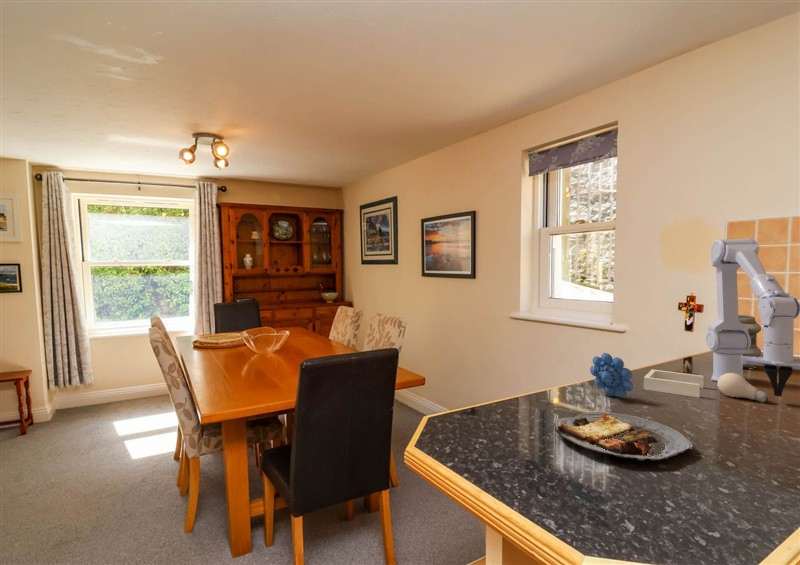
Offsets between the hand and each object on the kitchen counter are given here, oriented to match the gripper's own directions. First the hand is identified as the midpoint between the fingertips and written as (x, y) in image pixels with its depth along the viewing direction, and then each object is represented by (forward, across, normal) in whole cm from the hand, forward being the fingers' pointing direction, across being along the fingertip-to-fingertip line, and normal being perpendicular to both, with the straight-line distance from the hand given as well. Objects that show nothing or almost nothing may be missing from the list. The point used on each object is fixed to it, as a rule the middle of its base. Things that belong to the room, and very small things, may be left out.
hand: (777, 395), depth 106 cm
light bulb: (+2, -7, 0) cm, 8 cm away
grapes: (+2, -35, -20) cm, 40 cm away
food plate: (+3, -26, -50) cm, 56 cm away
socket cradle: (+2, -22, 0) cm, 22 cm away
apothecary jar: (+2, -9, +45) cm, 46 cm away
